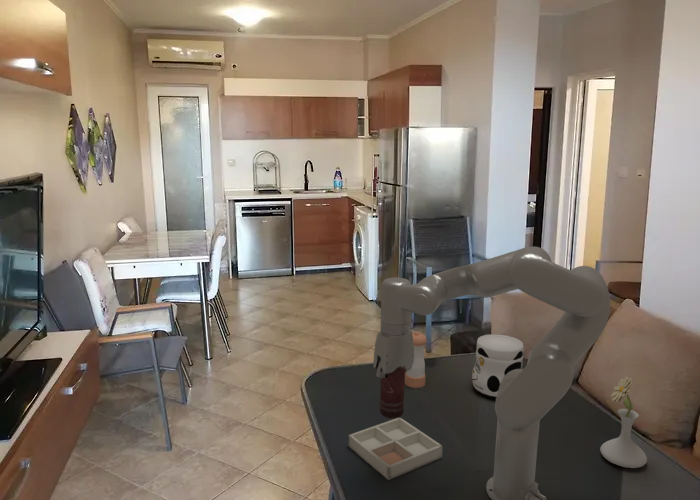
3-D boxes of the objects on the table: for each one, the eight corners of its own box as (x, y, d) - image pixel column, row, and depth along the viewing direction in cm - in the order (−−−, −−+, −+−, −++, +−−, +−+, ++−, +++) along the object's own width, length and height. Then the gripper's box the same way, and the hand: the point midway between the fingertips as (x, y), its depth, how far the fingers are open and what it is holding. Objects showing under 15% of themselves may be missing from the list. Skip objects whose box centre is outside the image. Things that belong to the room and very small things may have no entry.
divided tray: (442, 457, 146) (442, 445, 146) (388, 480, 136) (388, 467, 136) (399, 427, 161) (399, 417, 161) (348, 446, 151) (348, 435, 150)
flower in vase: (605, 443, 154) (615, 361, 149) (650, 458, 147) (661, 373, 142) (592, 464, 144) (602, 377, 139) (639, 481, 137) (651, 390, 132)
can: (403, 420, 136) (404, 368, 134) (378, 417, 138) (379, 366, 135) (405, 409, 142) (407, 359, 140) (381, 406, 144) (382, 357, 141)
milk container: (461, 384, 191) (464, 336, 187) (502, 377, 197) (505, 330, 193) (490, 406, 175) (493, 354, 171) (533, 398, 181) (538, 347, 177)
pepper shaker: (428, 386, 189) (431, 334, 185) (410, 389, 187) (412, 337, 183) (418, 377, 196) (420, 327, 192) (401, 380, 193) (402, 330, 189)
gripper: (408, 317, 142) (406, 382, 146) (362, 328, 134) (361, 396, 138) (427, 325, 136) (425, 392, 140) (380, 337, 128) (379, 408, 132)
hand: (393, 394), depth 139 cm, fingers closed
